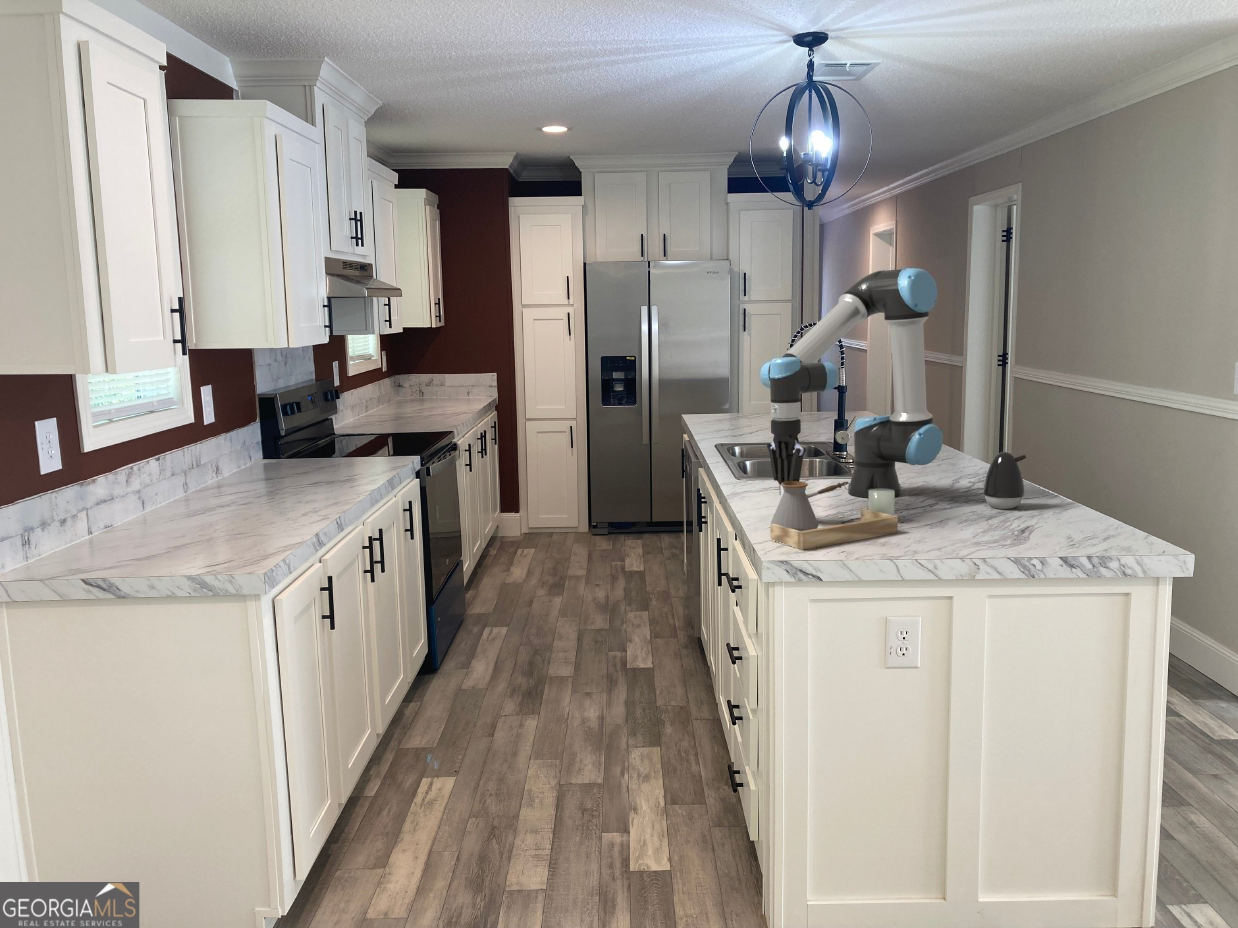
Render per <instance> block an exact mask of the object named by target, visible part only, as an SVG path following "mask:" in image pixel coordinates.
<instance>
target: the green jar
mask: <svg viewBox="0 0 1238 928" xmlns="http://www.w3.org/2000/svg"><path fill="white" fill-rule="evenodd" d="M895 497H896V496H895V491H894V490H892V489H883V488H877V489H870V490H869V498H868V509H867V510H871V511H876V512H880V513H884V514H889V515H893V516H895Z"/></svg>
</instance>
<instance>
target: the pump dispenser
mask: <svg viewBox="0 0 1238 928" xmlns="http://www.w3.org/2000/svg"><path fill="white" fill-rule="evenodd" d="M1026 455H1027V454H1022V455H1019V456H1015V455H1013V454H1012V453H1011V452H1008V451H1001V452H999V453H997V454H996V455H995V456H994V457H993V459H992V460H991V462H990V465H989V467H988V470H987V473H986V476H985V478H984V479H985V480H984V484H983V495H984V498H985V499H984V500H985V501H986V503H987V504H988V505H989V506H990V507H992V508H994V509H998V510H999V509H1000V510H1012V509H1014V508H1017V507H1018V506H1019V505H1020V504H1021V502H1022V500H1023V498H1024V496H1025V486H1024V485H1025V483H1024V478H1023V474H1022V471H1021V470H1022V469H1021V467H1020V464H1019V462H1021V461H1023V460H1025V459H1027V456H1026Z"/></svg>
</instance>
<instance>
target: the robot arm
mask: <svg viewBox="0 0 1238 928" xmlns="http://www.w3.org/2000/svg"><path fill="white" fill-rule="evenodd" d="M937 287H938V286H937V284H936V281H935V279H934V277H933V276H932V275H931V274H930V273H929V271H926V270H925V269H922V268H913V267H908V268H899V269H889V270H888V269H887V270H884V269H883V270H877V271H874V272H872V273H871V272H870V273H869V274H868V275H865V276H864V277H862V278H861V279H859V280H858V281H857V282H855V283H854V284H853V285H852V286H850V287H849V288H848V289H846V290H845V291H844V293H842V294H841V295H840V296H839V297H838V303H837V304H836V305H835V306H834V307H832V309H831V310H830V311H829V312H827V313H826V315H824V317H822V318H821V319H820V320H819V321H818V322H817V323H816V324H815V325H814V326H813V327H812V328H811V329H810V330H809V331H807V332H806V334H804V335H803V336H802V337H801V338H800V339H799V340H798V341H797V342H796V343H795V344H794V345H793V346H792V347H791V348H790V349H789V350H787V351H786V353H784V355H782V356H781V357H775V358H773V359H771V360H770V361H768V362H766V363H765V364H763V366H761V369H760V372H759V375H760V377H759V378H760V381H761V384H762V385H763V386H764V387H765V388H767V389H769V392H770V417H771V418H772V419H771V420H770V433H771V434H772V435H773V437H772V441H771V442H770V443H766V448H767V451H768V452H769V461H770V464H771V471H772V472H771V473H772V476H773V477H772V478H773V480H774V481H777V482H778V485H779V496H780V499H781V498H782V495H783V493H784V490H783V486H781V483H783V482H792V481H796V482H801V481H800V479H801V472H802V467H803V460H804V456H805V454H806V451H807V449H806V447H804V446H803V447H802V446H801V445H800V440H799V434H801V432H802V429H801V428H802V427H801V426H802V425H801V423H802V422H801V419H800V417H801V416H802V413H801V411H802V410H801V407H802V406H801V400H802V399H801V398H802V397H801V396H802V395H803V394H809V393H824V392H827V391H831V390H833V389H834V388H835V387H836V386H837V383H838V381H839V372H838V369H837V368H836V366H835V365H834V364H832V363H831V362H827V361H826V362H823V361H822V362H821V361H819V360H820V359H821V358H822V357H823V356H824V355H825V354H826V353H827V352H828V351H829V350H830V349H832V347H833V346H834V345H835V344H837V343H838V341H840V340H841V339H842V338H843V337H844V336H845V335H846V334H847V333H848V332H849V331H850V330H851V329H852V328H853V327H854V326H856V324H858V323H862V322H865V321H866V320H867V319H868V318H869V317H870V316H873V315H875V314H881V313H882V314H884V315H883V316H884V317H883V318H884V322H885V323H887V325H889V326H890V337H891V338H890V342H891V343H890V344H891V358H892V359H891V361H892V363H891V364H892V383H893V384H892V385H893V402H894V403H893V405H894V407H893V408H894V412H893V413H892V414H889V415H878V416H877V415H876V416H866V417H859V418H857V419H856V421H855V423H854V431H853V433H854V436H853V437H854V441H853V442H854V443H853V444H854V445H853V446H854V447H853V448H854V452H853V453H854V463H853V464H854V467H853V471H852V475H851V478H850V482H848V483H849V484H850V485H851V489H850V485H849V484H847V485H848V486H847V489H848V490H847V493H848V494H849V495H850V496H854V497H859V498H868V499H869V490H870V489H877V488H883V489H892V490H894V491H895V497H899V496H900V495H902V485H901V484H900V482H899V477H898V473H897V470H896V463H901V464H908V465H910V466H916V465H917V466H926V465H928V464H929V465H930V464H931V463H932V462H933V461H934V460H936V458H937V457H938V455H940V453H941V450H942V446H943V440H944V438H943V437H944V436H943V432H942V430H941V429H940V427H939V426H938V425H936V424H934V415H933V414H932V413H930V412H929V411H928V407H927V388H926V387H927V385H926V363H925V362H926V361H925V359H926V358H925V335H924V334H925V333H924V323H925V322H927V319H929V317H930V316H929V315H930V314H929V313H930V312H929V311H930V310H932V309H933V308H934V307H935V305H936V302H937V299H938V288H937ZM818 361H819V362H818ZM849 489H850V490H849Z"/></svg>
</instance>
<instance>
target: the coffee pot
mask: <svg viewBox="0 0 1238 928" xmlns="http://www.w3.org/2000/svg"><path fill="white" fill-rule="evenodd" d="M849 483H850V482H848V481H843V482H841V483H840V482H838V483H837V484H832V485H829V486H827V487H826V486H825V487H823V488H821V489H820V490H819V489H818V490H817V491H814V492H811V493H806V489H807V486H809V484H808V482H805V481H799V482H796V481H792V482H783V483H781V486H783V490H784V493H783V495H782V498H781V497H780V501H779V503H778V505H777V507H776V509H775V512H774V514H773V517H772V519H771V522H770V524H776V525H780V526H783V527H787V528H791V529H794V530H798V531H806V530H812V529H817V528H819V521H818V518H817V516H816V514H815V512H814V510H813V507H812V506H811V503H810V500H809V498H812V497H815V496H817V495H822V494H825V493H829V492H832V491H835V490H837V489H841V488H842V487H844V489H845V490H847V491H848V488H847V487H846V485H850V484H849ZM850 489H851V485H850ZM850 489H849V490H850Z"/></svg>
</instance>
